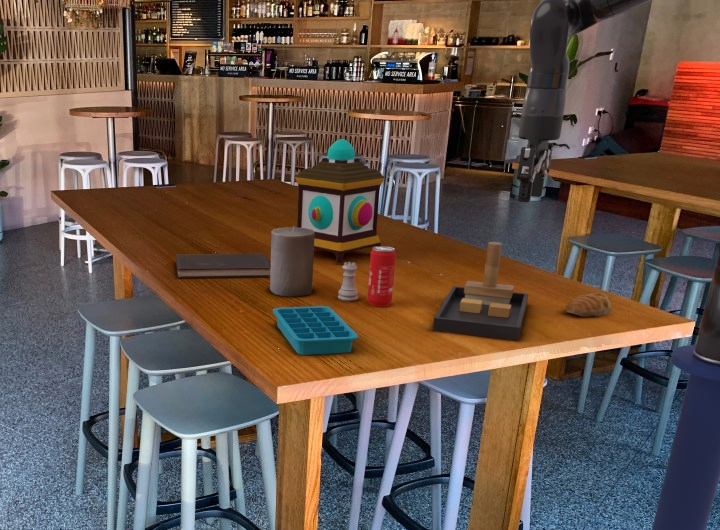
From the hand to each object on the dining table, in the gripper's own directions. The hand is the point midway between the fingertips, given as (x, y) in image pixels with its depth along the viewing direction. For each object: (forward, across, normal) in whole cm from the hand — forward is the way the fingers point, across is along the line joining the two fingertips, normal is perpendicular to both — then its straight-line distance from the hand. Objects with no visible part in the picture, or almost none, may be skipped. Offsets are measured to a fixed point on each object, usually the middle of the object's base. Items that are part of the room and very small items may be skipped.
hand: (529, 199), depth 157 cm
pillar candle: (+23, -14, +46) cm, 53 cm away
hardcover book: (+23, -7, +70) cm, 74 cm away
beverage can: (+23, -12, +25) cm, 36 cm away
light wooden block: (+22, -8, +7) cm, 24 cm away
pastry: (+23, +7, -13) cm, 27 cm away
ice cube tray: (+23, -40, +26) cm, 53 cm away
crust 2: (+22, -7, +1) cm, 24 cm away
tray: (+23, -9, +4) cm, 25 cm away
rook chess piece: (+23, -13, +32) cm, 42 cm away
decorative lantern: (+23, +25, +55) cm, 64 cm away
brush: (+22, 0, +6) cm, 23 cm away
